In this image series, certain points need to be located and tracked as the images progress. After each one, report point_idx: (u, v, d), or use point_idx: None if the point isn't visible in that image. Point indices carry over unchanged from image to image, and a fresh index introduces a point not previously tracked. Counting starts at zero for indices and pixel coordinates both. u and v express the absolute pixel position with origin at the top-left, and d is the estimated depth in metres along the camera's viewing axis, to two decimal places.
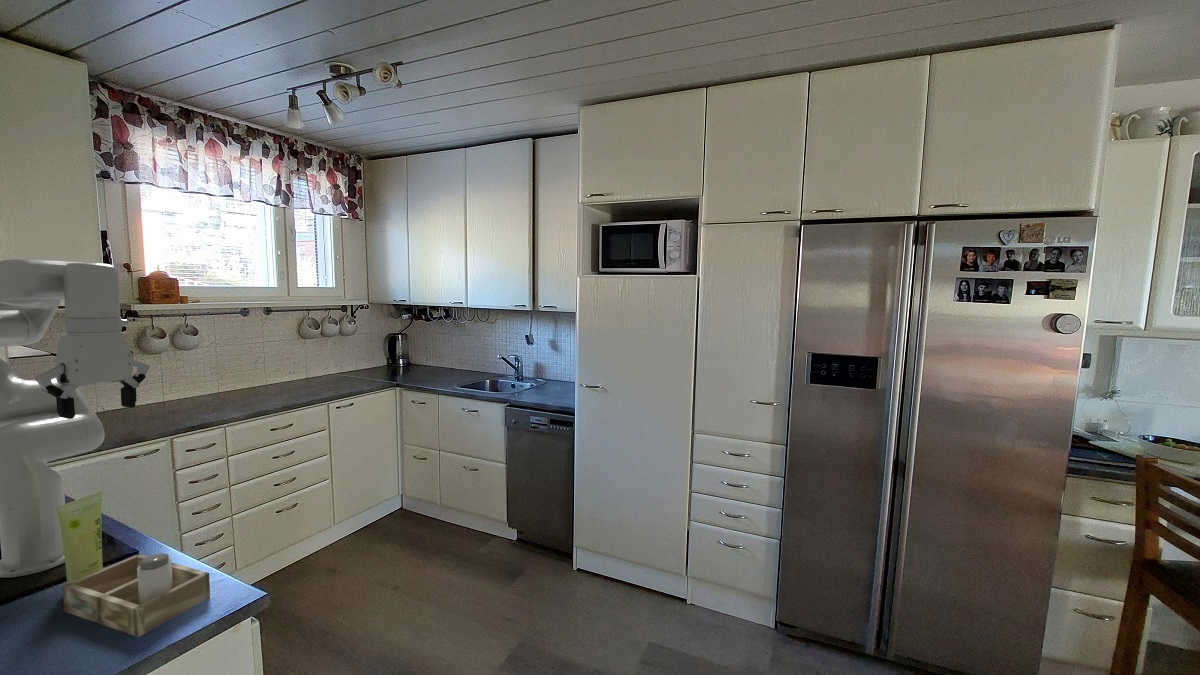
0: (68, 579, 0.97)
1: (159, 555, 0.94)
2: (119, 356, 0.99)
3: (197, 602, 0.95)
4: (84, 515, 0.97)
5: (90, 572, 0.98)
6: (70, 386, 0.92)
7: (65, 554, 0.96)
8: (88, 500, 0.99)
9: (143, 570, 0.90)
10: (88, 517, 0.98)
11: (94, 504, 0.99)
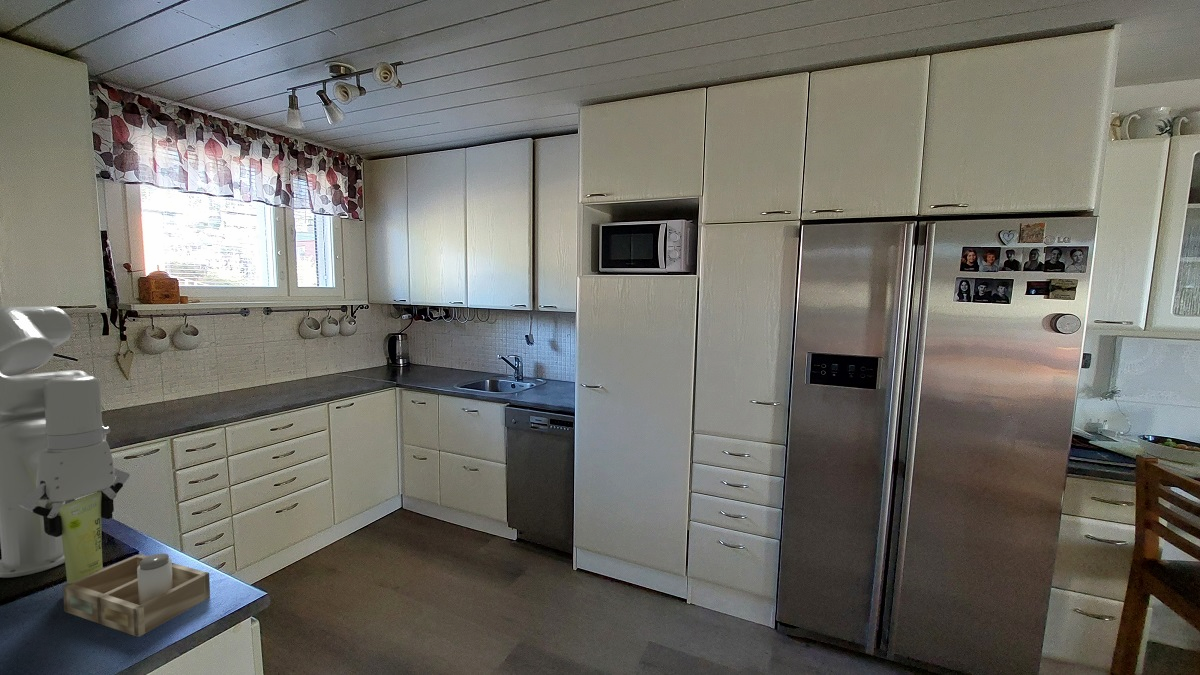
0: (68, 579, 0.97)
1: (159, 555, 0.94)
2: (101, 466, 0.98)
3: (197, 602, 0.95)
4: (84, 515, 0.97)
5: (90, 572, 0.98)
6: (55, 505, 0.93)
7: (65, 554, 0.96)
8: (88, 500, 0.98)
9: (143, 570, 0.90)
10: (88, 517, 0.98)
11: (93, 504, 0.99)
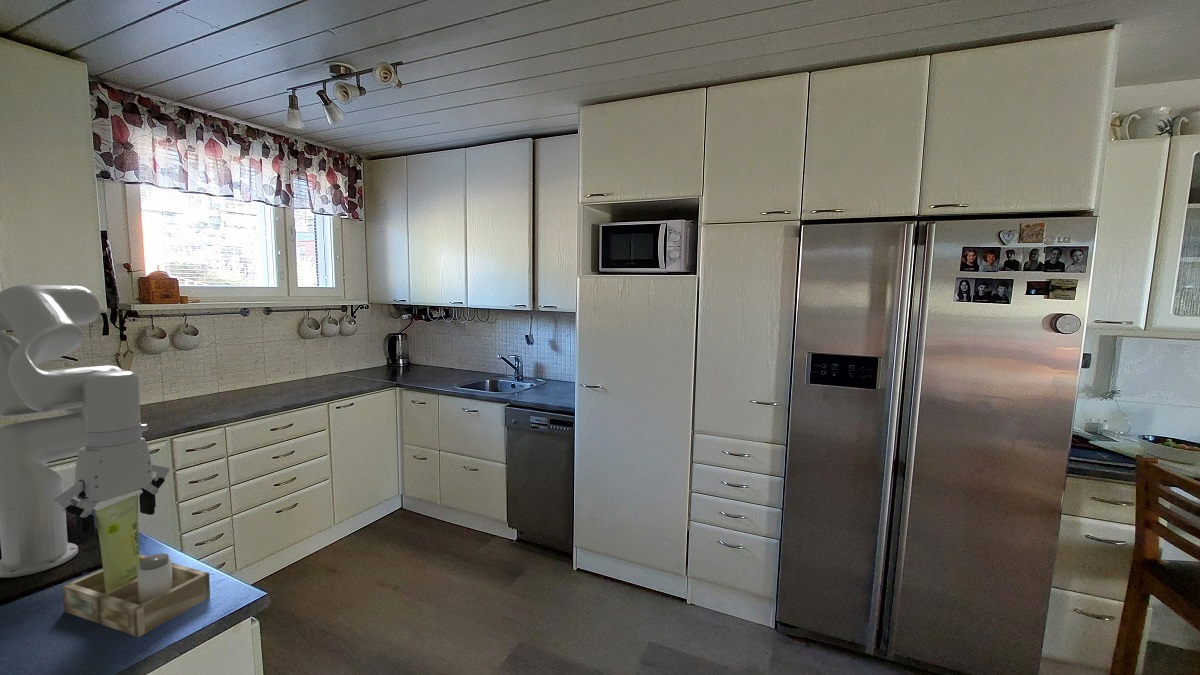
0: (106, 586, 0.93)
1: (159, 555, 0.94)
2: (139, 465, 0.95)
3: (197, 602, 0.95)
4: (122, 519, 0.94)
5: (129, 578, 0.95)
6: (90, 503, 0.89)
7: (103, 560, 0.93)
8: (125, 504, 0.95)
9: (143, 570, 0.90)
10: (126, 521, 0.95)
11: (131, 508, 0.96)
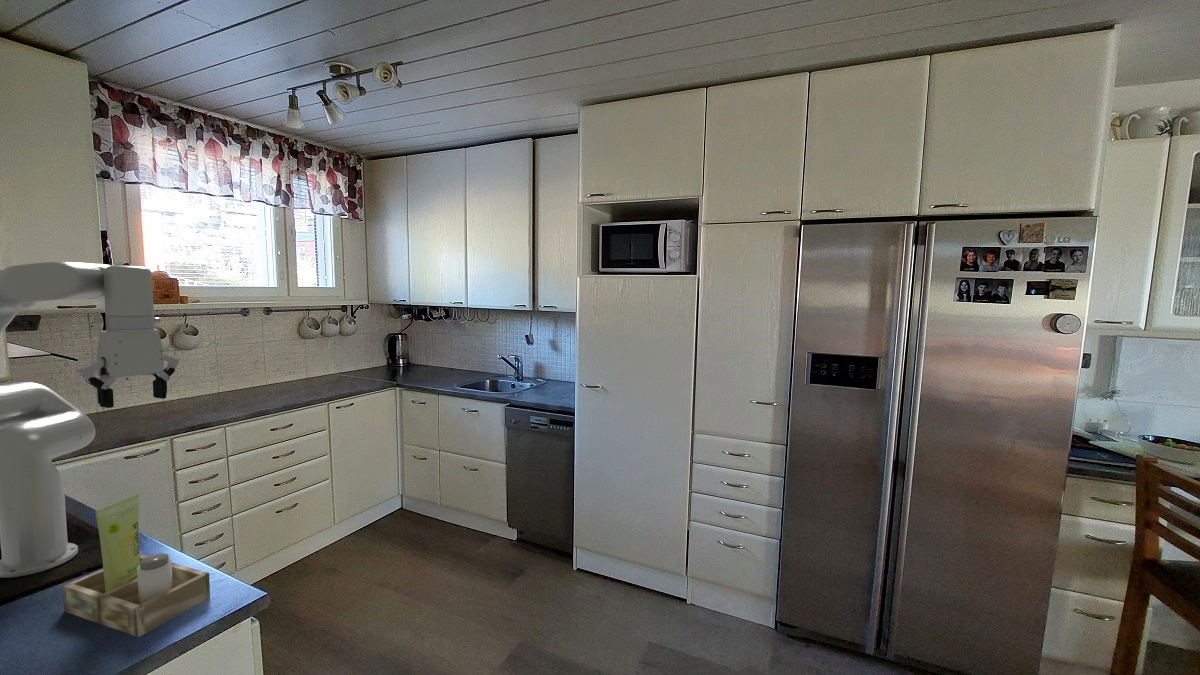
0: (106, 585, 0.93)
1: (159, 555, 0.94)
2: (152, 351, 1.07)
3: (197, 602, 0.95)
4: (122, 519, 0.94)
5: (129, 578, 0.95)
6: (110, 378, 1.01)
7: (104, 560, 0.93)
8: (126, 504, 0.95)
9: (143, 570, 0.90)
10: (126, 521, 0.95)
11: (131, 508, 0.96)
